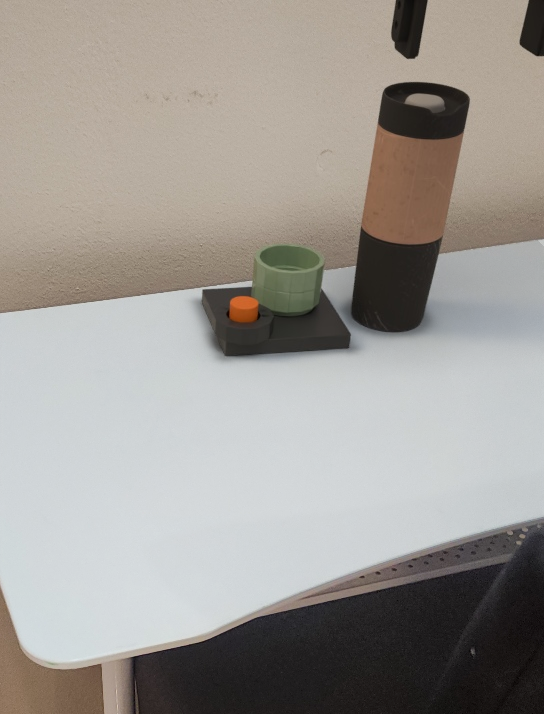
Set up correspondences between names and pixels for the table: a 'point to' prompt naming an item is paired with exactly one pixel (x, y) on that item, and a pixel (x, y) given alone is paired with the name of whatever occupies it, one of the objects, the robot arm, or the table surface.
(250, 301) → the button
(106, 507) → the table surface
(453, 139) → the travel mug
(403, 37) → the robot arm
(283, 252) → the bowl
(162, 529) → the table surface
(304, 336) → the scale
